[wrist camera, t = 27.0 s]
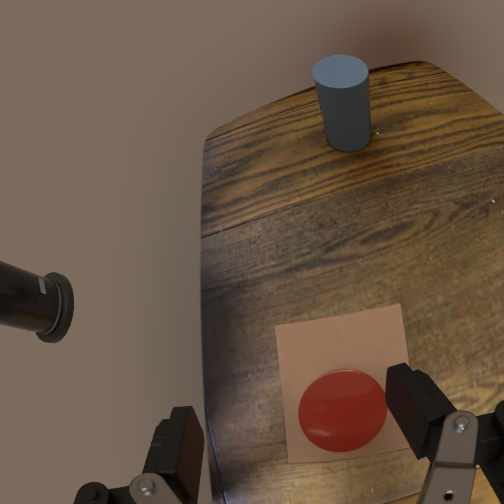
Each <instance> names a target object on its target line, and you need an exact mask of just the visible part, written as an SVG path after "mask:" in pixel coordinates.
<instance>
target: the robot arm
mask: <svg viewBox="0 0 504 504" xmlns="http://www.w3.org/2000/svg"><path fill="white" fill-rule="evenodd" d="M62 309H63V295H62V290H61V287H60V285H59V284H58V282H57V281H55V280H53V279H50V278H45V277H42V276H40V275H37V274H34V273H31V272H29V271H26V270H23V269H20V268H18V267H15V266H12V265H10V264H7V263H4V262H2V261H0V324H1V325H5V326H10V327H14V328H19V329H23V330H28V331H33V332H38V333H41V334H45V335H48V334H51V333H52V332H53V331H54V330H55V329H56V327H57V326H58V324H59V321H60V318H61V315H62ZM385 400H386V404H387V407H388V409H389V410H390V412H391V414H392V415H393V417H394V419H395V421H396V422H397V424H398V426H399V428H400V429H401V431H402V433H403V435H404V436H405V438H406V440H407V442H408V443H409V445H410V447H411V449H412V450H413V452H414V454H415V456H416V458H417V459H418V460H419V459H421V458H424V457H426V456H427V458H428V459H429V461H430V464H429V468H428V471H427V474H426V477H425V481H424V484H423V487H422V490H421V492H420V495H419V498H418V501H417V503H416V504H469V503H470V498H471V494H472V489H473V484H474V479H475V474H476V465H478V464H479V466H480V468H481V469H482V471H483V473H484V474H485V476H486V478H487V479H488V481H489V483H490V485H491V486H492V488H493V490H494V492H495V494H496V495H497V497H498V499H499V501H500V503H501V504H504V400H503V401H501V402H500V403H499V404H498V405H497V406H496V409H495V411H494V412H493V413H489V414H484V415H480V416H475V415H474V414H473V413H471V412H469V411H464V410H459V411H458V410H457V409H456V408H455V407H454V406H453V404H452V403H451V402H450V401H449V400H448V398H447V397H446V396H445V395H444V394H443V392H442V391H441V390H440V389H439V388H438V386H437V385H436V384H434V382H433V380H432V379H431V378H430V377H429V376H428V375H427V374H425V373H423V372H422V371H420V370H415V371H412V370H411V368H410V367H409V366H408V365H407V364H406V363H405V362H403V363H400V364H397V365H394V366H391V367H388V368H387V372H386V387H385ZM203 450H204V434H203V430H202V428H201V426H200V423H199V421H198V418H197V416H196V414H195V411H194V409H193V407H192V406H184V407H174V408H173V409H172V412H171V416H170V419H163V420H162V421H161V422H160V424H159V425H158V426H157V427H156V429H155V432H154V436H153V439H152V442H151V446H150V449H149V452H148V455H147V459H146V462H145V465H144V469H143V472H142V474H141V475H139V476H137V477H136V478H134V479H133V480H132V481H131V483H130V485H129V486H125V487H120V488H114V489H107V487H106V486H105V485H103V484H101V483H98V482H91V483H87V484H85V485H83V486H82V487H81V488H80V489H79V491H78V493H77V495H76V498H75V501H74V504H197V502H198V493H199V483H200V476H201V467H202V459H203Z"/></svg>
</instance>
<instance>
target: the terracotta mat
mask: <svg viewBox="0 0 504 504" xmlns="http://www.w3.org/2000/svg"><path fill="white" fill-rule="evenodd" d="M275 331H276V340H277V350H278V359H279V369H280V379H281V389H282V399H283V409H284V419H285V430H286V441H287V452H288V463H289V464H290V463H309V462H322V461H333V460H342V459H350V458H357V457H364V456H370V455H376V454H382V453H387V452H392V451H397V450H402V449H406V448H411V447H410V445H409V443H408V442H407V440H406V438H405V436H404V435H403V433H402V431H401V429H400V428H399V426H398V424H397V422H396V421H395V419H394V417H393V415H392V414H391V412H390V410H389V409H388V407H387V417H386V420H385V423H384V425H383V427H382V429H381V431H380V432H379V433H378V435H377V436H376V437H375V438H374V439H373V440H372V441H371V442H369V443H368V444H367V445H365V446H363V447H361V448H359V449H357V450H353V451H350V452H342V453H338V452H330V451H326V450H323V449H321V448H319V447H317V446H316V445H314V444H313V443H312V442H310V441H309V440H308V439H307V437H306V436H305V435H304V433H303V431H302V429H301V427H300V424H299V419H298V409H299V404H300V400H301V398H302V396H303V394H304V392H305V390H306V389H307V388H308V386H309V385H310V384H311V383H312V382H313V381H315V380H316V379H317V378H318V377H319V376H321V375H322V374H323V373H324V372H326V371H327V370H328V369H329V368H331V367H332V366H334V365H336V364H339V363H343V362H353V363H358V364H360V365H362V366H364V367H365V368H367V369H368V370H369V371H370V372H371V374H372V375H373V376H374V378H375V379H376V380H377V382H378V383H379V384H380V386H381V387H382V389H383V391H384V393H385V387H386V372H387V368H388V367H391V366H394V365H397V364H400V363H403V362H405V363H406V364H407V365H408V366H409V358H408V350H407V343H406V336H405V329H404V323H403V317H402V311H401V305H400V303H398V304H394V305H389V306H384V307H380V308H375V309H370V310H365V311H360V312H354V313H349V314H344V315H338V316H333V317H327V318H321V319H315V320H309V321H303V322H296V323H290V324H283V325H276V326H275Z"/></svg>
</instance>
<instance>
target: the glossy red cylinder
mask: <svg viewBox="0 0 504 504" xmlns="http://www.w3.org/2000/svg"><path fill="white" fill-rule="evenodd" d="M386 417H387V404H386V400H385V393H384V391H383V389H382V387H381V386H380V384H379V383H378V382H377V380H376V379H375V378H374V376H373V375H372V374H371V372H370V371H369V370H368V369H367V368H365V367H364V366H362V365H360V364H358V363H353V362H343V363H339V364H336V365H334V366H332V367H331V368H329V369H328V370H327V371H326V372H324V373H323V374H322V375H321V376H319V377H318V378H317V379H316V380H315V381H313V382H312V383H311V384H310V385H309V386H308V388H307V389H306V390H305V392H304V394H303V396H302V398H301V400H300V404H299V409H298V419H299V424H300V427H301V429H302V431H303V433H304V435H305V436H306V437H307V439H308V440H309V441H310V442H312V443H313V444H314V445H316V446H317V447H319V448H321V449H323V450H326V451H330V452H338V453H342V452H350V451H353V450H357V449H359V448H361V447H363V446H365V445H367V444H368V443H369V442H371V441H372V440H373V439H374V438H375V437H376V436H377V435H378V433H379V432H380V431H381V429H382V427H383V425H384V423H385V420H386Z"/></svg>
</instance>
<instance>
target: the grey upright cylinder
mask: <svg viewBox="0 0 504 504" xmlns="http://www.w3.org/2000/svg"><path fill="white" fill-rule="evenodd" d="M312 76H313V80H314V84H315V88H316V92H317V96H318V101H319V105H320V109H321V114H322V118H323V123H324V128H325V133H326V137H327V140H328V142H329V143H330V144H331V145H332V146H333V147H334V148H336V149H338V150H341V151H345V152H353V151H358V150H360V149H362V148H364V147H365V146H366V145H367V144H368V143H369V141H370V139H371V110H370V87H369V72H368V68H367V66H366V65H365V63H364V62H362V61H361V60H359V59H357V58H355V57H352V56H348V55H334V56H328V57H325V58H323V59H321V60H320V61H319V62H317V63H316V64H315V65H314V67H313V69H312Z"/></svg>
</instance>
